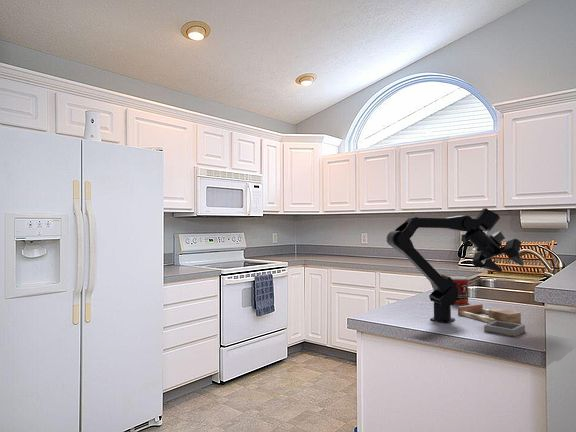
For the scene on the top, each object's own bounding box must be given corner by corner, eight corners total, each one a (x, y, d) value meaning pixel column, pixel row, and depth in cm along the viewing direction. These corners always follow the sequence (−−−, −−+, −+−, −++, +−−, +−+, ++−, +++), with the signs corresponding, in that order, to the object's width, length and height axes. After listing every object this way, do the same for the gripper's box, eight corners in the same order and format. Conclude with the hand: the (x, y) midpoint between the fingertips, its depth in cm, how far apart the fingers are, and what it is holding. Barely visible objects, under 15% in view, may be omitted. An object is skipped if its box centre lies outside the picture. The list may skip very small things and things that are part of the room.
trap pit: (514, 336, 126) (514, 330, 126) (484, 331, 133) (484, 325, 133) (524, 331, 132) (524, 324, 132) (495, 326, 139) (495, 320, 139)
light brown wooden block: (521, 324, 142) (520, 312, 142) (508, 326, 139) (508, 314, 139) (500, 319, 149) (500, 308, 149) (488, 321, 147) (488, 310, 147)
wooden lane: (516, 320, 146) (516, 311, 146) (492, 323, 142) (492, 315, 142) (480, 311, 161) (480, 303, 161) (457, 314, 156) (457, 306, 157)
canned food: (457, 305, 173) (456, 279, 173) (445, 301, 181) (444, 276, 181) (472, 303, 175) (471, 278, 175) (460, 300, 183) (459, 275, 183)
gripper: (508, 216, 147) (539, 245, 148) (468, 234, 162) (496, 259, 163) (501, 238, 141) (533, 267, 142) (459, 254, 156) (489, 280, 157)
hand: (511, 268), depth 151 cm, fingers open, 9 cm apart
